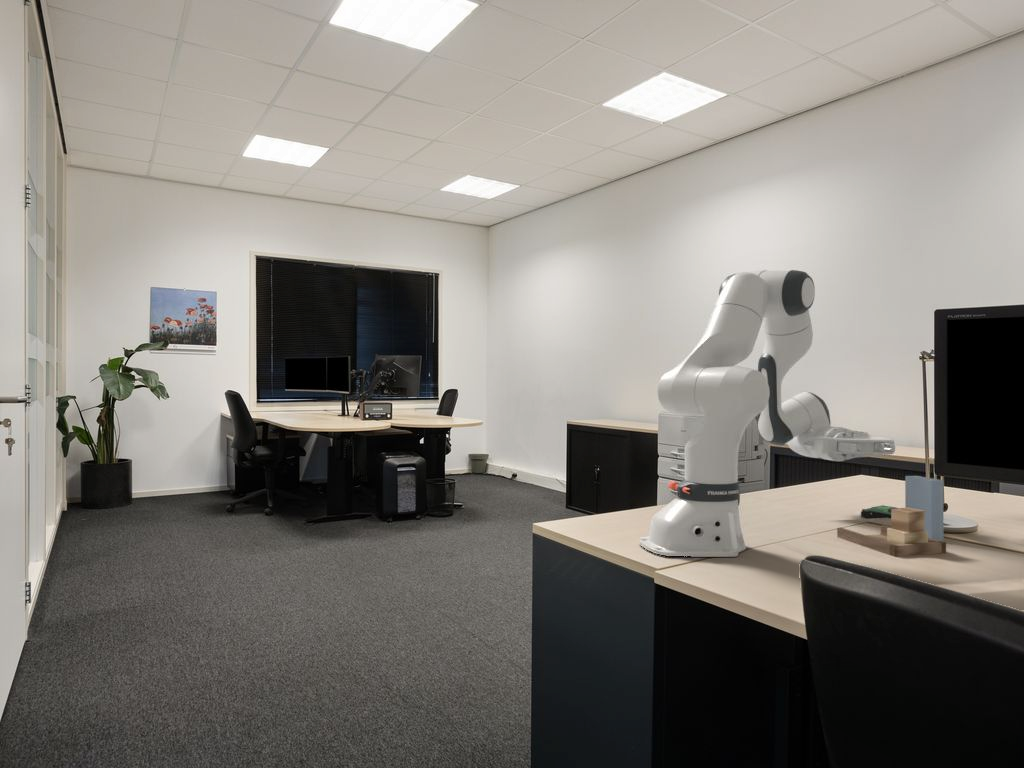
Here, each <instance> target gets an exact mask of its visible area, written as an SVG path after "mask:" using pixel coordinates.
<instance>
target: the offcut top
mask: <svg viewBox="0 0 1024 768" xmlns="http://www.w3.org/2000/svg"><path fill="white" fill-rule="evenodd" d="M896 508H897V509H891V519H890V522H891V524H890V527H891V529H895V530H899V531H904V532H908V533H910V532H918V531H925V511H922V510H917V509H912V508H905V507H896Z"/></svg>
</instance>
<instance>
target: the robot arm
mask: <svg viewBox="0 0 1024 768" xmlns="http://www.w3.org/2000/svg"><path fill="white" fill-rule="evenodd" d="M718 290H719V291H718V297H717V299H716V301H715V304H714V306H713V308H712V311H711V315H710V316H709V319H708V322H707V323H706V326H705V329H704V331H703V333H702V335H701V337H700V339H699V341H698V342H697V343H696V345H695V346H694V348H693V349H692V350H691V351H690V353H689V354H687V356H685V358H684V359H683V360H682V361H681V362H680V363H678V365H676V366H675V367H673V368H672V369H670V370H668V371H667V372H665V373H664V374H663V375H661V378H660V380H659V382H658V384H657V397H658V401H659V403H660V405H661V407H662V408H663V409H664V410H666V411H668V412H670V413H673V414H677V415H681V416H683V417H684V416H685V417H703V418H704V421H703V422H704V423H703V425H702V428H701V431H700V432H699V433H698V434H697V435H694V436H692V437H691V438H690V439H689V440H688V441H687V442H686V443H685V446H684V479H683V480H681V482H680V483H679V482H677V481H674V480H671V481H669V483H668V486H667V487H668V489H669V490H670V491H673V492H676V497H675V498H674V499H672V501H670V502H669V503H667V504H666V505H665V506H664V507H663V508H661V509H660V510H658V511H657V512H656V513H655V514H653V516H652V517H651V522H650V524H649V525H650V526H649V533H648V535H647V536H646V535H645V536H641V537H640V538H639V539H638V543H639V542H640V544H641V545H643V546H644V547H646V548H647V549H649V550H651V551H653V552H656V553H658V554H662V555H666V556H684V557H683V558H685V556H686V557H687V556H691V557H690V558H692V557H693V558H699V557H700V558H701V557H702V558H703V557H704V558H706V557H710V558H711V557H712V558H715V557H719V558H723V557H724V558H725V557H726V558H727V557H728V558H729V557H731V558H732V557H738V555H739V553H741V552H743V551H745V550H746V548H747V545H746V542H745V539H744V536H743V531H742V526H741V519H740V510H739V508H740V507H739V506H740V500H741V488H740V487H741V486H740V481H738V479H739V478H738V474H739V472H738V471H739V469H738V468H739V467H738V466H739V451H740V450H739V449H740V443H741V440H742V438H743V435H744V433H745V431H746V429H747V427H748V426H749V424H750V423H751V421H753V420H754V418H756V417H757V419H756V427H757V432H758V433H759V435H760V437H761V438H762V439H763V440H764V441H765V442H767V443H769V444H772V445H776V446H784V445H786V444H787V446H788V447H789V449H790V450H792V451H793V452H794V453H796V454H798V455H801V456H804V457H808V458H815V459H822V460H826V461H827V460H828V461H832V462H845V461H846V460H847V461H848V460H851V459H857V458H867V457H868V456H885V455H886V456H887V455H888V456H890V455H893V454H894V453H895V452H896V445H895V441H894V439H891V438H888V437H884V436H883V437H882V436H877V435H872V434H869V433H868V432H866V431H857V430H851V429H849V428H845V427H843V426H842V427H841V426H831V425H832V424H831V423H832V422H831V416H830V410H829V407H828V405H827V404H826V402H825V401H824V400H823V399H822V398H821V397H820V396H818V395H816V394H815V393H814V392H810V391H801V392H800V393H798V394H796V395H793V396H791V397H790V398H788V399H786V400H785V401H783V402H782V383H783V380H784V378H785V376H786V375H787V374H788V372H789V371H790V369H792V368H793V367H794V366H795V365H796V364H797V362H799V361H800V360H801V359H802V358H803V357H804V356H806V355H807V353H808V351H809V350H810V348H811V347H812V345H813V344H812V343H813V333H814V332H813V325H812V321H811V320H812V319H811V314H810V311H809V310H810V309H811V307H812V306H813V304H814V301H815V294H816V291H815V290H816V288H815V283H814V280H813V278H812V276H810V275H809V274H808V272H806V271H801V270H795V269H792V270H756V271H749V272H747V271H746V272H745V271H743V272H737V273H733V274H730V275H728V276H726V278H725V279H724V280H723V281H722V282H721V284H720V286H719V289H718ZM762 323H763V328H764V334H765V335H764V338H765V339H764V346H763V350H762V353H761V356H760V358H759V360H758V363H757V369H754V368H753V369H752V368H748V367H743V366H737V364H739V363H742V362H743V361H745V360H747V359H748V358H749V356H750V355H751V354H752V353H753V350H754V348H755V344H756V341H757V339H758V336H759V332H760V329H761V326H762ZM687 558H688V557H687Z"/></svg>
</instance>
